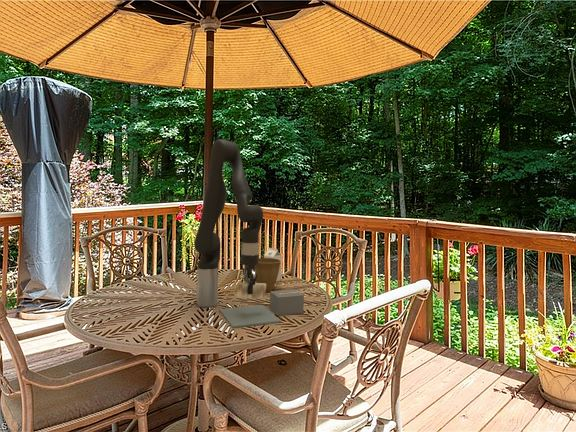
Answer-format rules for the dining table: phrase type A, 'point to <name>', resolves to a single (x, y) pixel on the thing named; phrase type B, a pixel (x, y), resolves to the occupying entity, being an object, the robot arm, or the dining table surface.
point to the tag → (258, 290)
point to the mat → (249, 316)
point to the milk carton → (276, 255)
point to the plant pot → (267, 272)
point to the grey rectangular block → (286, 302)
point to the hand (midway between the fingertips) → (249, 293)
